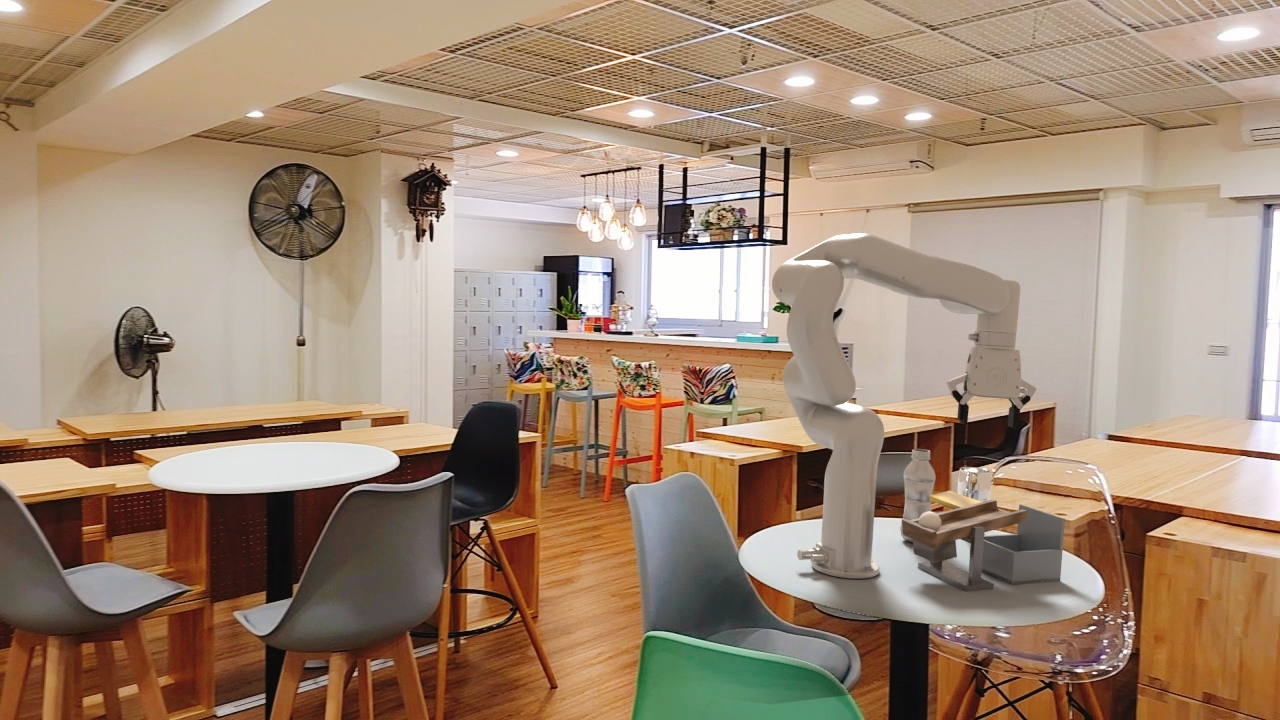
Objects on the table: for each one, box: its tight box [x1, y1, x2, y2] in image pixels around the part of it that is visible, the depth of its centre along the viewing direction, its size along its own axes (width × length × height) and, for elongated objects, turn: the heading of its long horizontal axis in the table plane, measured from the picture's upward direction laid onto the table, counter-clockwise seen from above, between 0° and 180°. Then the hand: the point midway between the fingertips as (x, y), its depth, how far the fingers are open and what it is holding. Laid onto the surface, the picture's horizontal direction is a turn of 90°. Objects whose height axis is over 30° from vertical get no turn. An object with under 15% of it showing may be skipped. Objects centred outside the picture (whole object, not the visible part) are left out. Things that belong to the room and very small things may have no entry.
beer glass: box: [956, 466, 992, 536], centre depth 195 cm, size 7×7×15 cm
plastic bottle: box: [899, 448, 937, 543], centre depth 188 cm, size 6×7×20 cm
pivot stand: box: [917, 511, 995, 592], centre depth 164 cm, size 6×14×11 cm, turn 18°
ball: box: [919, 511, 941, 532], centre depth 162 cm, size 4×4×4 cm
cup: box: [982, 504, 1066, 585], centre depth 169 cm, size 11×11×12 cm
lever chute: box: [901, 490, 1027, 563], centre depth 169 cm, size 21×19×6 cm
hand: (987, 425), depth 177 cm, fingers open, 9 cm apart
